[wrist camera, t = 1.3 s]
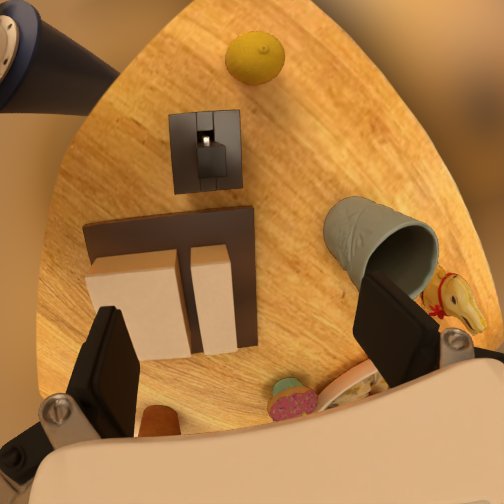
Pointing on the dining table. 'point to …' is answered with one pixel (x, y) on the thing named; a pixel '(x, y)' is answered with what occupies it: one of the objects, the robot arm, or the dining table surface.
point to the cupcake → (291, 400)
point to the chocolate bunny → (453, 300)
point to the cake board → (183, 239)
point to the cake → (145, 301)
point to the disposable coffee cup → (159, 422)
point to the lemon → (255, 57)
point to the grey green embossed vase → (381, 244)
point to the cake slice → (214, 298)
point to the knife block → (185, 156)
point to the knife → (211, 159)
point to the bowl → (352, 386)
